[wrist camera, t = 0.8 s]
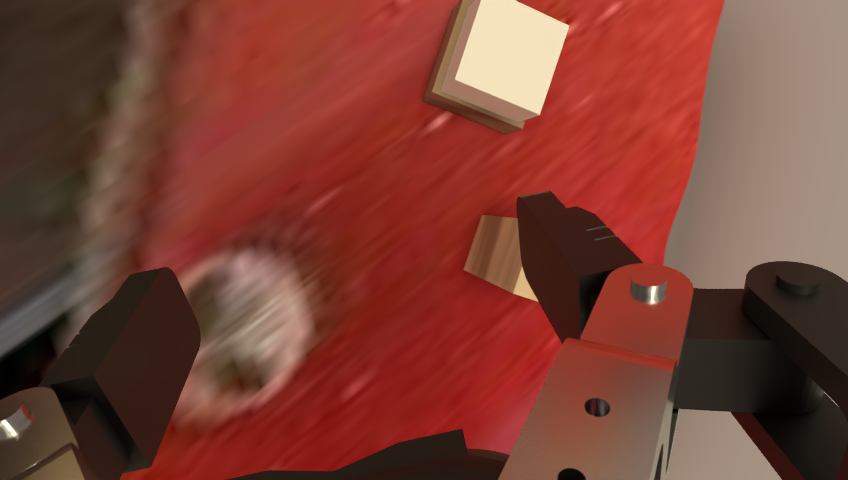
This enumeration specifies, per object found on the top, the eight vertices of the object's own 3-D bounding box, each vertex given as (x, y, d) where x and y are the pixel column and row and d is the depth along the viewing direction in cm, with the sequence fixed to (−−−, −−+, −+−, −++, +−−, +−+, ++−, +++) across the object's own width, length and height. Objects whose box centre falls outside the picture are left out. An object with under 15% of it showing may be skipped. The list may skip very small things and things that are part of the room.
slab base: (421, 101, 38) (431, 91, 35) (451, 12, 38) (464, -7, 35) (504, 134, 40) (522, 128, 36) (533, 49, 40) (554, 35, 36)
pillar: (463, 269, 40) (512, 293, 30) (481, 214, 40) (537, 220, 30) (514, 286, 41) (578, 314, 31) (532, 232, 41) (602, 243, 31)
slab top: (440, 91, 35) (454, 79, 31) (468, 7, 35) (485, -14, 31) (518, 122, 36) (539, 114, 33) (544, 42, 36) (569, 25, 33)
